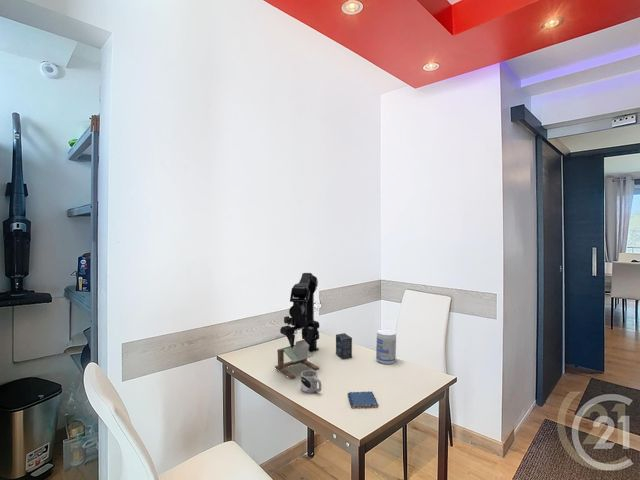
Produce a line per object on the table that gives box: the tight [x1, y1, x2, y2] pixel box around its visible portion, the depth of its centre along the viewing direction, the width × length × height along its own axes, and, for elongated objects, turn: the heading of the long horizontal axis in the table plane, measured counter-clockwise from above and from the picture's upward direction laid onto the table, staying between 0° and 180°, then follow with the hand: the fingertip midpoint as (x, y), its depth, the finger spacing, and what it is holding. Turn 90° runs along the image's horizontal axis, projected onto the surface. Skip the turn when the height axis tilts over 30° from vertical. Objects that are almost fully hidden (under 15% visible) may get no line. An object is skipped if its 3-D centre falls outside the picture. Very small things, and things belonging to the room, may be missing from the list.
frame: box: [274, 344, 320, 380], centre depth 156 cm, size 14×16×10 cm
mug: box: [300, 369, 322, 394], centre depth 136 cm, size 10×7×7 cm, turn 47°
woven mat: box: [347, 390, 379, 410], centre depth 127 cm, size 10×11×2 cm
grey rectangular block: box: [294, 339, 309, 358], centre depth 153 cm, size 4×4×6 cm
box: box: [335, 332, 353, 360], centre depth 172 cm, size 8×6×11 cm
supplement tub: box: [375, 328, 397, 365], centre depth 165 cm, size 10×10×15 cm
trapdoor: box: [283, 346, 314, 362], centre depth 155 cm, size 9×11×1 cm
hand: (300, 345), depth 153 cm, fingers open, 9 cm apart
